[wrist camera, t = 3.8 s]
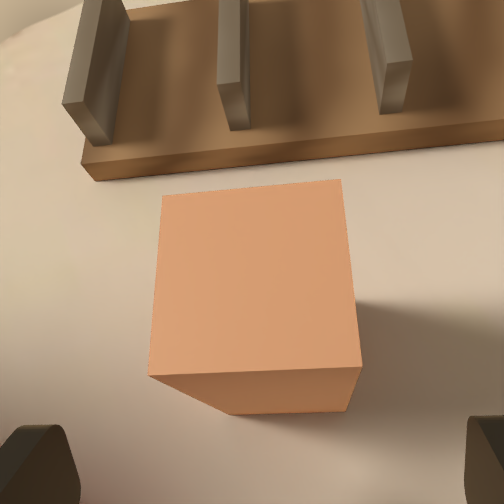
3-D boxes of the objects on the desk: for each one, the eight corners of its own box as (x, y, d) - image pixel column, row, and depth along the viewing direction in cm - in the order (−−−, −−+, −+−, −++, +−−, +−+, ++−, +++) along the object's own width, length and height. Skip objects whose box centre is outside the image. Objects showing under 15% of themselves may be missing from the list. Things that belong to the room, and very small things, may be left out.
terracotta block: (229, 414, 18) (147, 375, 10) (230, 305, 20) (162, 196, 12) (345, 411, 17) (362, 366, 9) (334, 299, 19) (340, 178, 11)
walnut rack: (94, 181, 24) (47, 123, 20) (118, 34, 28) (83, -38, 24) (569, 133, 21) (628, 53, 17) (507, -23, 25) (542, -114, 21)
